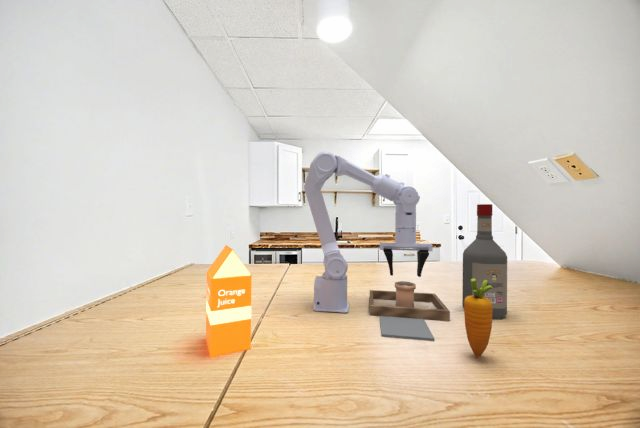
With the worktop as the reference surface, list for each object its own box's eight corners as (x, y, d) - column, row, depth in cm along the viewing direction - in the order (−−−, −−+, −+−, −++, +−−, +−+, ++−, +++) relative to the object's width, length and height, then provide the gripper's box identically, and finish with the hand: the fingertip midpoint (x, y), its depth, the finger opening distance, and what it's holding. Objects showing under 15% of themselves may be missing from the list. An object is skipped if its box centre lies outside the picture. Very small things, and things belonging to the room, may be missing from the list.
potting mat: (381, 336, 61) (381, 334, 61) (379, 318, 71) (379, 316, 71) (434, 340, 59) (434, 338, 59) (424, 321, 69) (424, 319, 69)
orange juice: (209, 357, 51) (210, 250, 51) (205, 338, 59) (206, 245, 59) (251, 348, 55) (252, 248, 55) (242, 331, 62) (243, 243, 62)
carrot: (484, 351, 54) (485, 275, 54) (498, 365, 49) (499, 281, 49) (458, 349, 55) (459, 274, 55) (469, 363, 50) (470, 280, 50)
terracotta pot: (395, 310, 77) (395, 285, 77) (393, 304, 83) (393, 280, 83) (417, 312, 76) (417, 286, 76) (413, 305, 82) (413, 281, 82)
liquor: (511, 319, 71) (512, 204, 71) (475, 319, 71) (476, 203, 71) (491, 307, 80) (491, 205, 80) (459, 307, 80) (459, 205, 81)
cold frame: (369, 315, 73) (369, 305, 73) (369, 297, 89) (369, 289, 89) (449, 321, 70) (449, 311, 70) (434, 301, 86) (434, 293, 86)
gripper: (428, 228, 82) (428, 273, 82) (379, 227, 85) (378, 271, 85) (434, 229, 75) (434, 279, 75) (380, 228, 78) (379, 276, 78)
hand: (405, 275), depth 79 cm, fingers open, 7 cm apart
